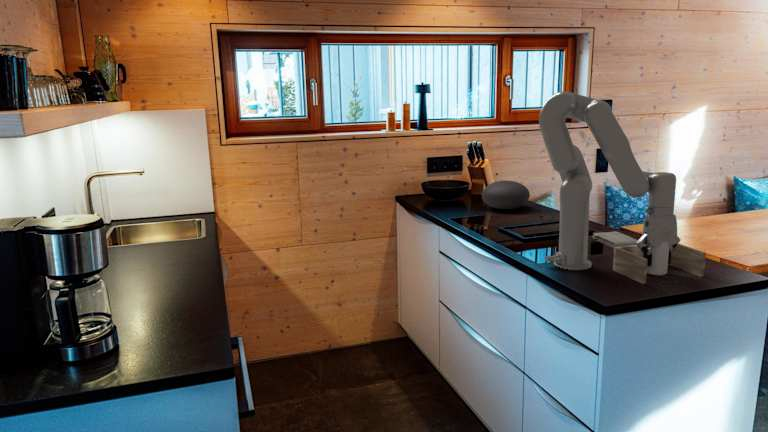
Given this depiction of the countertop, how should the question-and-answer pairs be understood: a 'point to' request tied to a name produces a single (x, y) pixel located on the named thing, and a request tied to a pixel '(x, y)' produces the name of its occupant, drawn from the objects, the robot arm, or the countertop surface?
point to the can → (659, 260)
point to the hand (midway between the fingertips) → (656, 263)
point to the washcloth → (614, 239)
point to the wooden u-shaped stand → (635, 264)
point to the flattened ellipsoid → (505, 195)
